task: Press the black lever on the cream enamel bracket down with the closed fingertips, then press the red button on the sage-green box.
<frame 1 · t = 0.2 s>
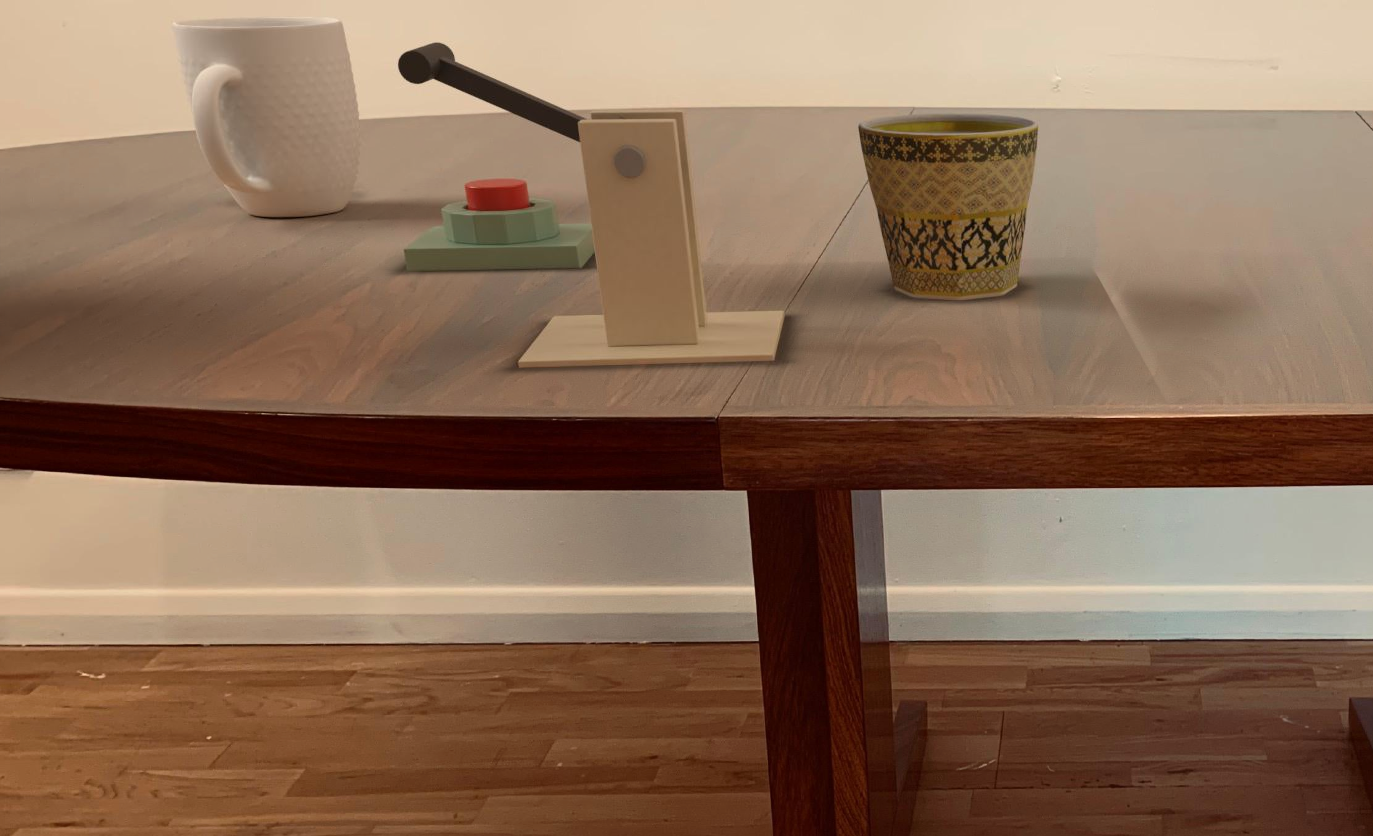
lever: (541, 112, 83), point 12 cm above the table, hinge at 25.0°
button box: (509, 271, 109), on the table
ceramic cup: (965, 301, 103), on the table
mug: (290, 216, 127), on the table
bracket: (661, 357, 89), on the table
button: (497, 197, 107), point 4 cm above the table, slide at 0.1 cm
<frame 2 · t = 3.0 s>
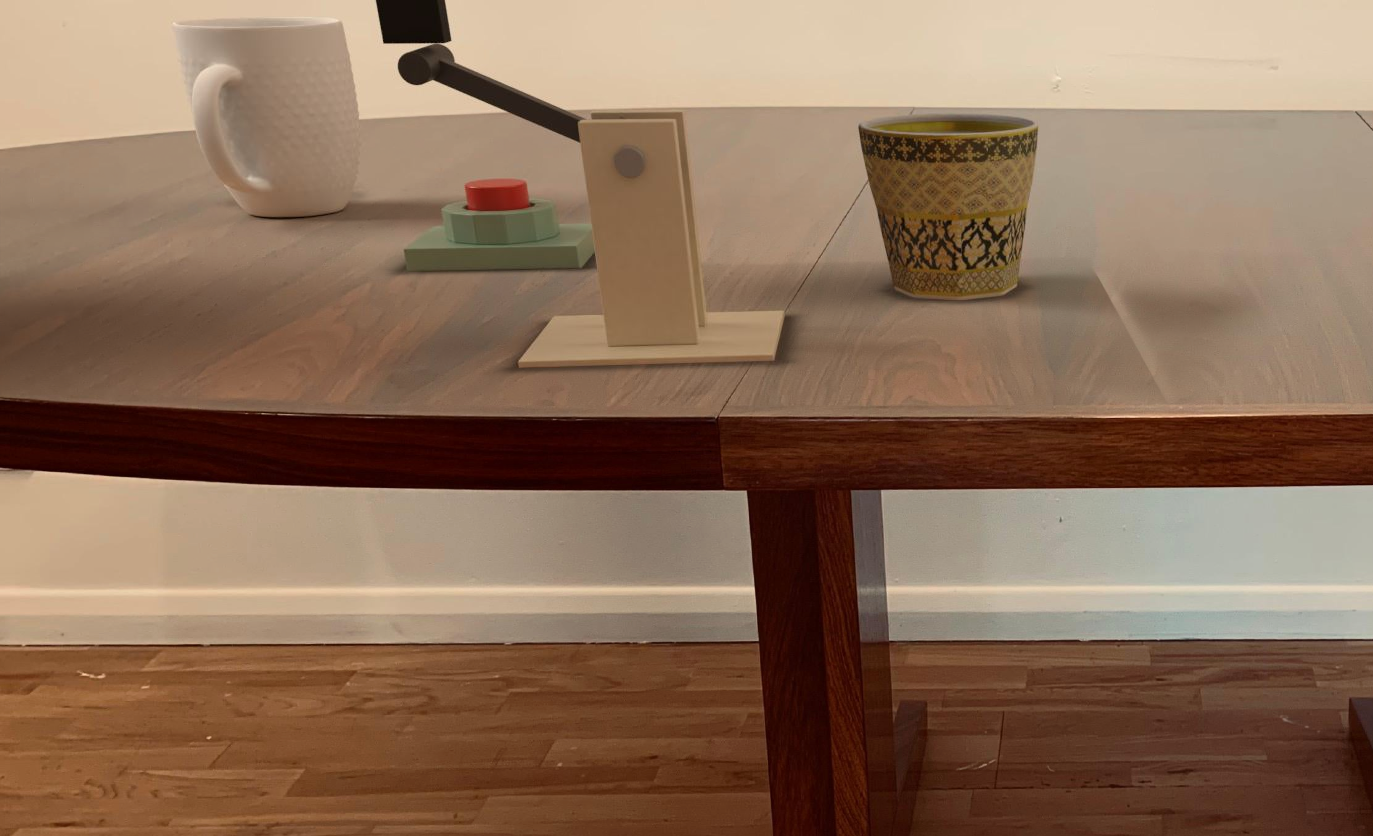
hand: (417, 41, 81), 15 cm above the table, tool pointing down, fingers closed
lever: (541, 113, 83), point 12 cm above the table, hinge at 24.6°, touching gripper
everything else where it was.
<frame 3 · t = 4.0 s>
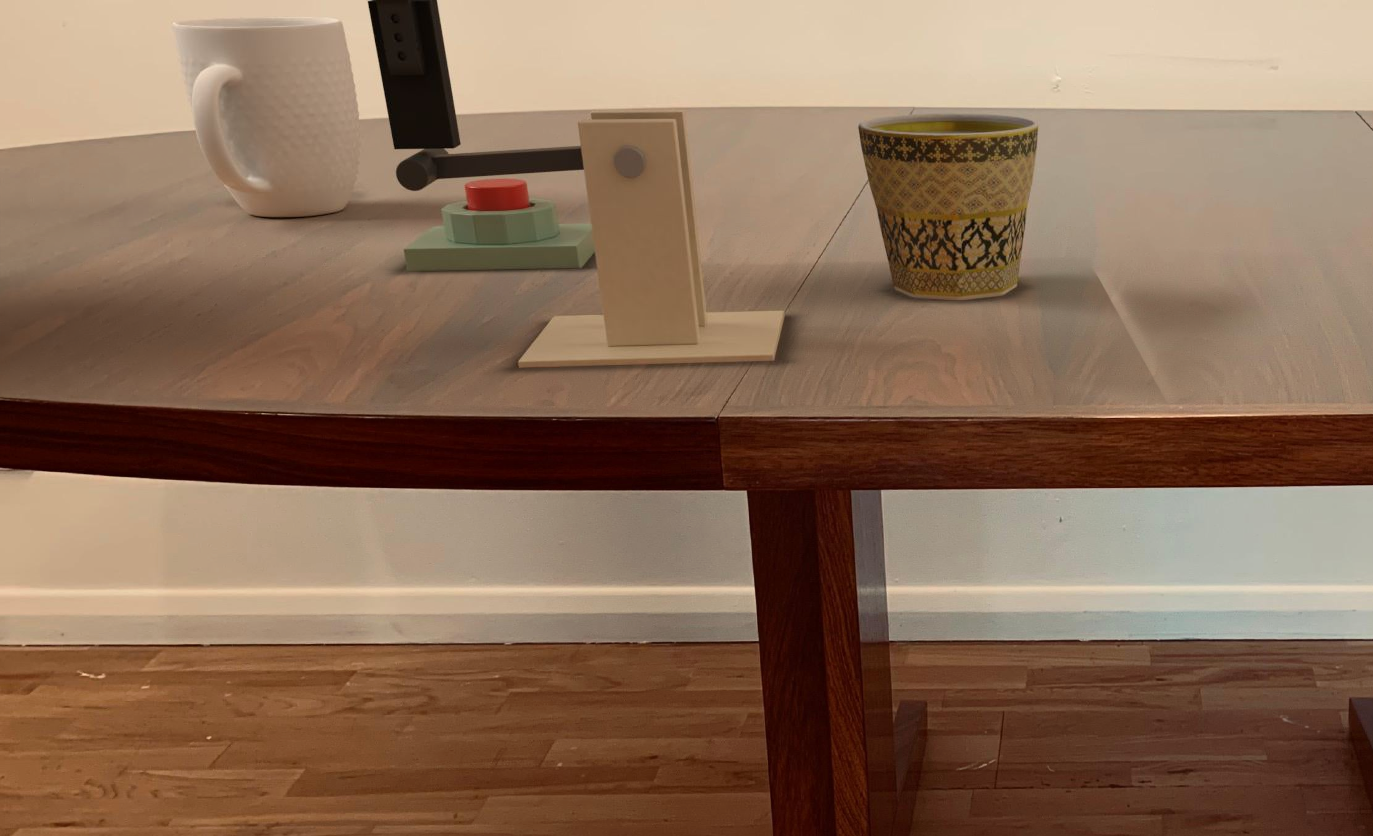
hand: (427, 146, 83), 10 cm above the table, tool pointing down, fingers closed
lever: (538, 160, 84), point 10 cm above the table, hinge at -3.0°, touching gripper
everything else where it was.
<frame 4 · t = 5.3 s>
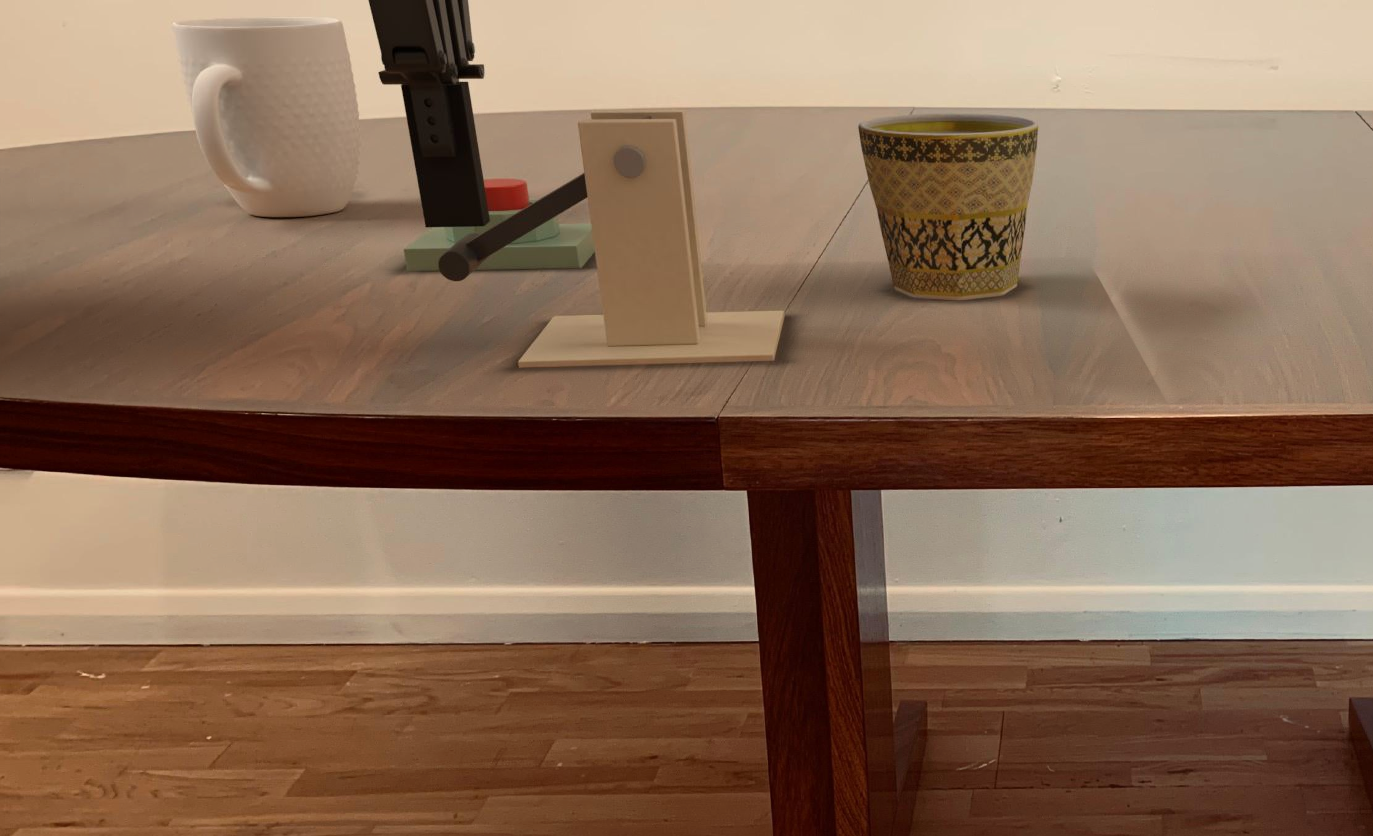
hand: (458, 223, 85), 7 cm above the table, tool pointing down, fingers closed
lever: (556, 202, 85), point 8 cm above the table, hinge at -28.3°, touching gripper
everything else where it was.
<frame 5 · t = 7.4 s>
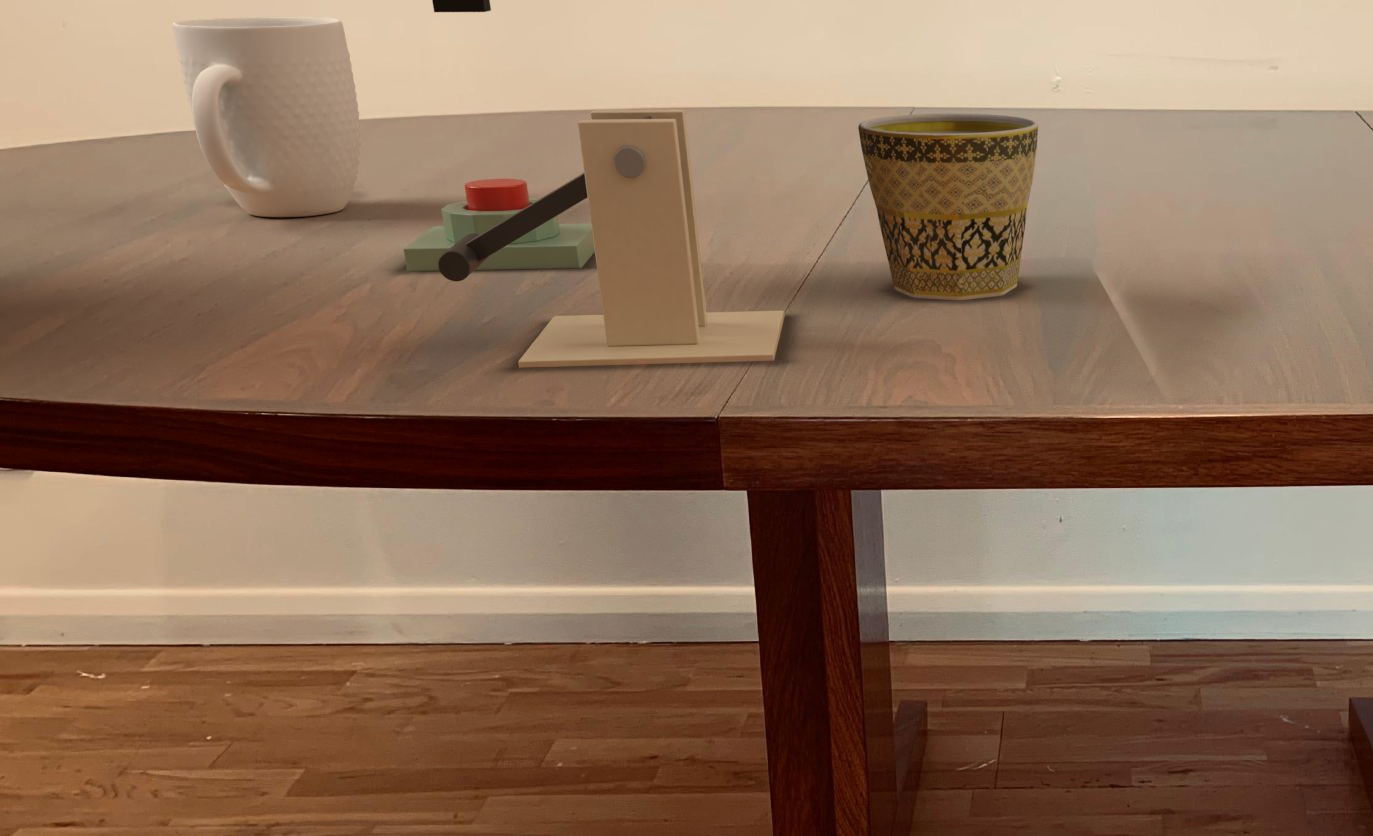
hand: (462, 11, 97), 15 cm above the table, tool pointing down, fingers closed
lever: (556, 202, 85), point 8 cm above the table, hinge at -28.4°
everything else where it was.
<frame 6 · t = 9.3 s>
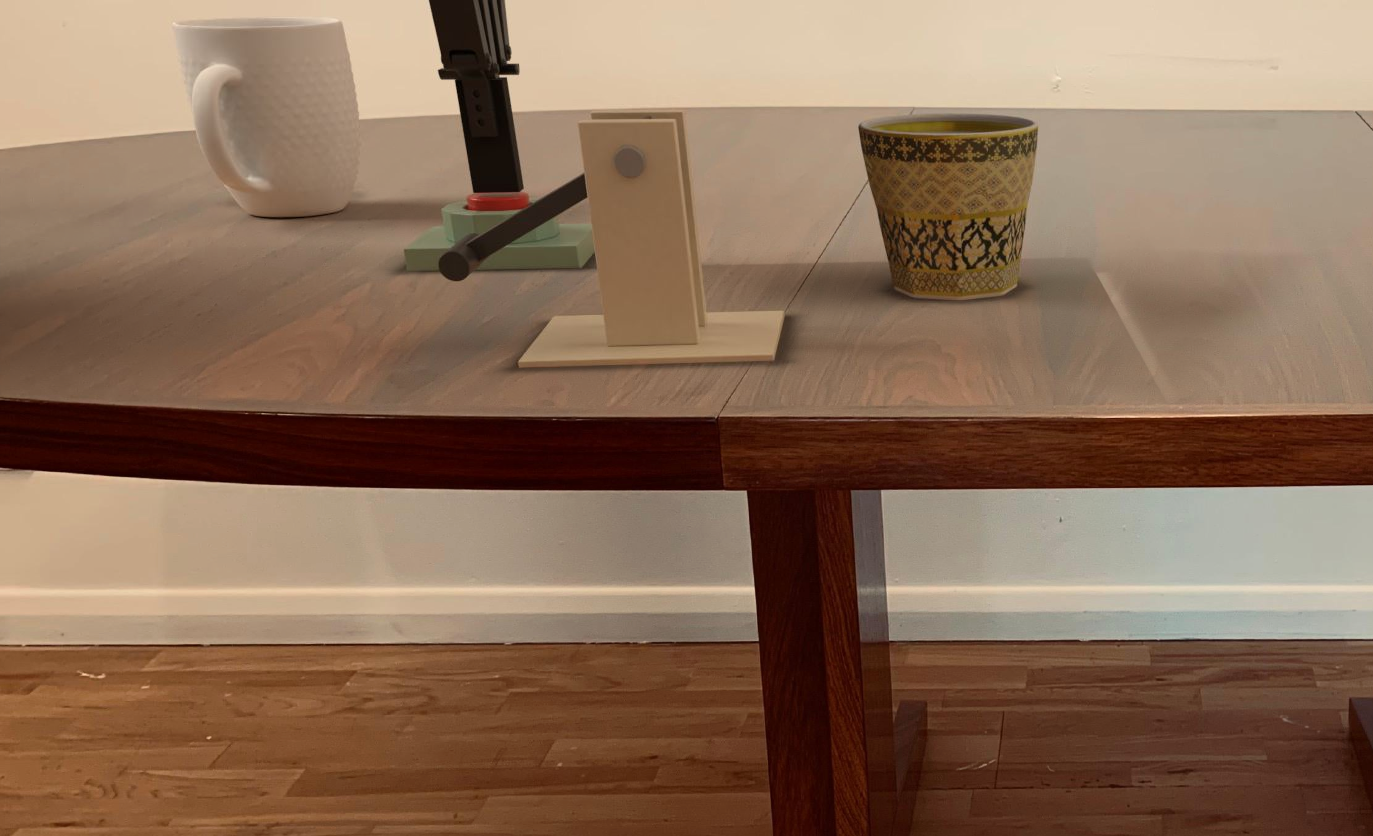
hand: (498, 190, 106), 5 cm above the table, tool pointing down, fingers closed
button: (499, 209, 107), point 4 cm above the table, slide at -0.6 cm, touching gripper
everything else where it was.
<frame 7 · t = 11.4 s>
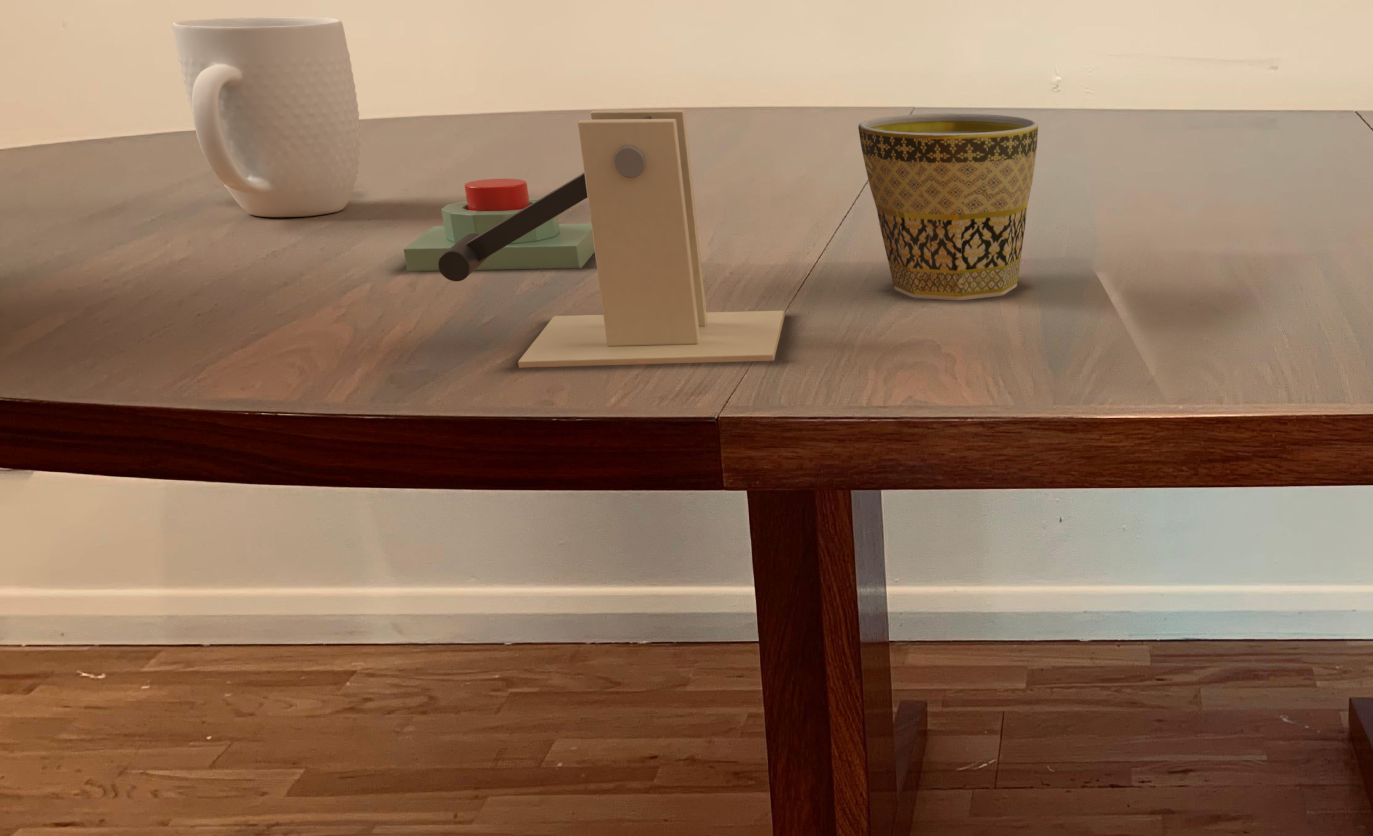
button: (497, 197, 107), point 4 cm above the table, slide at 0.1 cm
everything else where it was.
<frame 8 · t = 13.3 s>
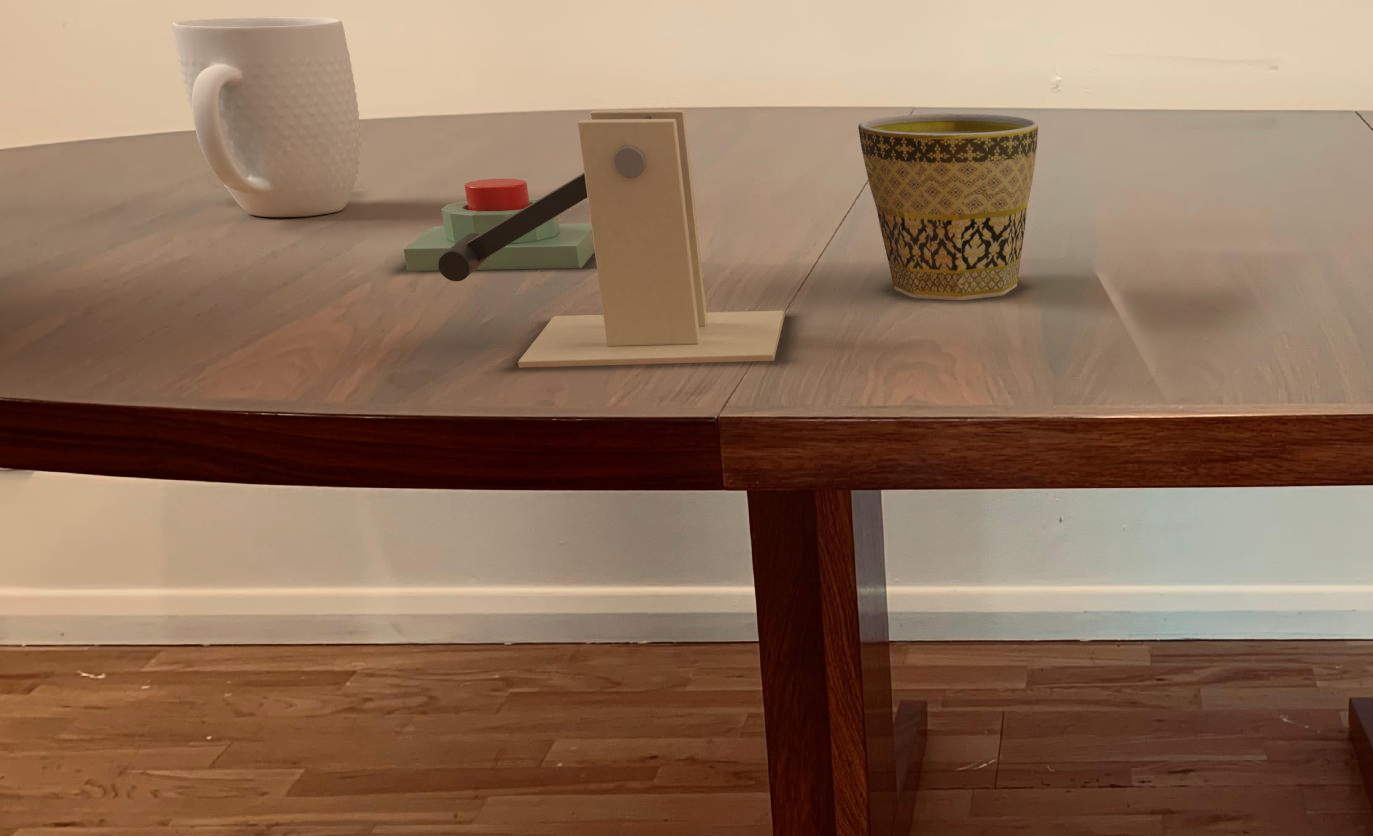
nothing on the table moved.
at the end: lever at -28° (first picture: +25°); button pushed in 1.0 cm at the most during the clip, back to where it started at the end; button slide at 0.1 cm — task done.
